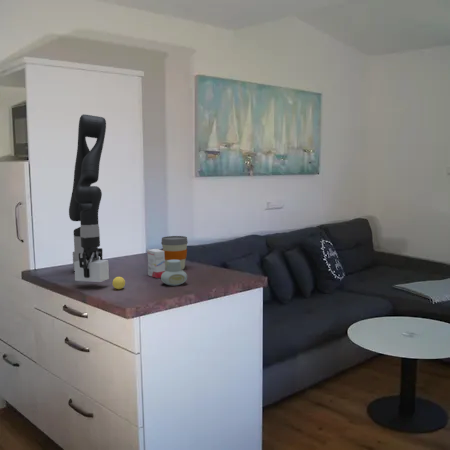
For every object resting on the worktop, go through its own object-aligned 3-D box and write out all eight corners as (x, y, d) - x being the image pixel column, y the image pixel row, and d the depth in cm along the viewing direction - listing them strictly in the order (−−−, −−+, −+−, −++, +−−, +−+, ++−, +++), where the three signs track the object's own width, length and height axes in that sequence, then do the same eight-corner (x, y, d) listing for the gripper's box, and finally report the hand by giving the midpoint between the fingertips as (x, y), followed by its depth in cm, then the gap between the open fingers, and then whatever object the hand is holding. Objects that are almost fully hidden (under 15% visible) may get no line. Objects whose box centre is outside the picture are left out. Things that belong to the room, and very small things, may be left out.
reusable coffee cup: (164, 266, 251) (163, 235, 249) (189, 265, 250) (188, 235, 248) (160, 271, 238) (159, 239, 236) (186, 271, 238) (186, 239, 236)
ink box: (166, 277, 225) (165, 250, 224) (155, 278, 223) (155, 252, 221) (157, 273, 233) (156, 248, 231) (147, 275, 230) (146, 249, 228)
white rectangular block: (75, 280, 206) (74, 261, 206) (84, 277, 213) (83, 259, 212) (100, 282, 203) (99, 263, 202) (109, 278, 209) (108, 260, 208)
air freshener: (184, 281, 218) (183, 258, 216) (189, 285, 210) (189, 261, 209) (159, 283, 214) (158, 259, 213) (163, 287, 206) (163, 263, 205)
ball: (110, 290, 203) (109, 277, 202) (116, 287, 207) (116, 275, 207) (121, 290, 201) (120, 278, 201) (127, 287, 206) (127, 275, 205)
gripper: (91, 233, 214) (93, 271, 216) (71, 237, 200) (73, 278, 202) (107, 233, 212) (109, 272, 213) (88, 238, 198) (90, 279, 200)
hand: (91, 275), depth 208 cm, fingers closed on white rectangular block, 6 cm apart
